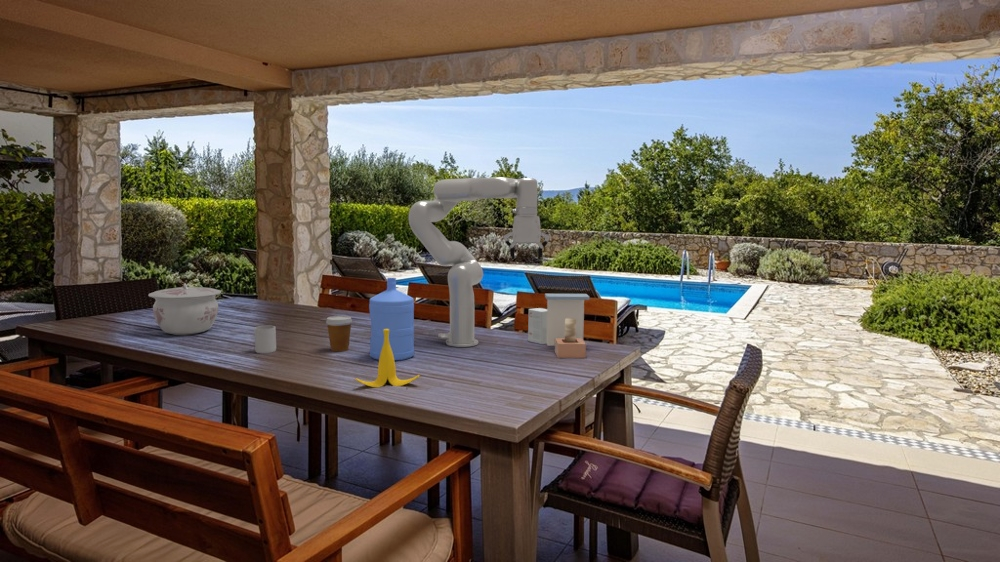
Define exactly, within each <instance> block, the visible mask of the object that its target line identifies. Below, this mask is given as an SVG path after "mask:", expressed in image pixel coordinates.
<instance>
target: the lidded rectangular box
mask: <svg viewBox="0 0 1000 562" xmlns="http://www.w3.org/2000/svg"><path fill="white" fill-rule="evenodd" d="M544 298H545V299H546V300H547V301H546V303H547V304H546V305H547V306H546V307H547V308H546V309H547V343H546V346H548V347H555V338H565V319H567V318H572V319H576V338H582V339H583V340H584V328H585V327H584V323H585V320H584V319H585V301H590V299H591V297H590V295H588V294H587V293H544Z"/></svg>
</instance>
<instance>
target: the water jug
mask: <svg viewBox="0 0 1000 562" xmlns="http://www.w3.org/2000/svg"><path fill="white" fill-rule="evenodd" d="M396 280H397V278H396V277H387V278H386V282H387V283H386V290H383V291H381V292H380V293H378V294H376V295H374V296H372V297H370V298H369V305H368V309H369V318H370V332H371V333H370V337H369V347H370V349H369V356H370V358H372V359H373V360H377V361H379V358H380V354H381V350H382V347H383V344H384V332H383V330H384V329H389V344H390V347H391V350H392V353H393V356H394V361H395V362H396V361H405V360H408V359H410V358H412V357H414V355H415V338H414V337H415V336H414V334H415V325H414V321H415V319H414V318H415V317H414V316H415V315H414V313H415V312H414V311H415V302H414V301H415V300H414V298H413V297H412V296H410V295H408V294H406V293H404V292H402V291H399V290H398V289H397V281H396Z"/></svg>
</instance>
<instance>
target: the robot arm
mask: <svg viewBox="0 0 1000 562" xmlns="http://www.w3.org/2000/svg"><path fill="white" fill-rule="evenodd" d="M537 180H538V179H536V178H532V177H522V178H513V177H512V178H511V177H506V176H505V177H504V176H498V177H497V176H495V177H477V178H476V177H467V178H448V179H447V178H446V179H441V180H440V179H439V181H437V182H436V183H435V184H434V187H433V191H432V192H433V195H434V197H435V198H434V199H433V200H419V201H416V202H415V203H413V204H412V206H411V207H410V209H409V212H408V223H409V227H410V230H411V231H412V233H413V234H414V235H415V236H416V238H417V239H418V241H420V243H421V244H422V245H423V246H424V247H425V249H426V250H427V251H428V252H429V254H430V256H432V258H433V259H434V260H435V262H436V263H437V264H438V265H440V266H442V267H450V266H451V267H450V269H449V270H448V273H447V284H448V291H449V332H446V333H441V332H440V333H439V332H438V339H440V340H445V344H446V346H449V347H456V348H457V347H458V348H468V347H474V346H477V345H478V344H479V340H478V339H476V338H475V294H474V289H473V286H475V285H478V284H479V283H480V282H481V281H482V280H483V277H484V270H483V267H482V266H481V264H480V263H479V262H478V260H477V259H476V258H475V257H474V255H473V254H472V252H470V251H469V250H468V248H467V247H466V246H465V245H464V244H463V243H461V242H459V241H456V240H451V241H450V240H449V239H447V238H446V236H445V235H444V234H443V232H441V230H440V229H439V228H438V227H436V226H435V225H434V224H433V223H435V222H436V223H437V222H441V221H442V220H444V218H446V217H447V215H449V213H450V212H451V211H452V210H453V209H454V208H455V206H457V205H458V203H460V202H473V201H474V202H475V201H477V200H479V199H480V200H481V199H516V207H515V208H512V213H513V214H516V215H514V217H513V226H512V231H510V232H508V233H507V234H504V235H502V238H503V240H504V243H505V244H506V245H507V246H508V247H509V248H510V249H509V250H510V255H509V256H510V257H511V259H512V260H515V246H516V245H517V244H536V245H537V246H538V248H537V259H538V260H541V258H542V257H543V248H545V246H546V245H547V244H548V242H549V241H550V239H551V236H550V235H548V234H546V233H544V232H542V230H541V219H540V216H538V181H537ZM509 237H512V242H510V240H509V239H508V238H509ZM542 237H543V238H545V239H544V241H543V242H542V243H541V238H542Z"/></svg>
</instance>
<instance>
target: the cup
mask: <svg viewBox="0 0 1000 562" xmlns="http://www.w3.org/2000/svg"><path fill="white" fill-rule="evenodd" d="M276 333H277V330H276V326H274V325H259V326H255V327H254V349H255V353H257V354H263V355H264V354H272V353H275V352H276V351H277V334H276Z"/></svg>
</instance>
